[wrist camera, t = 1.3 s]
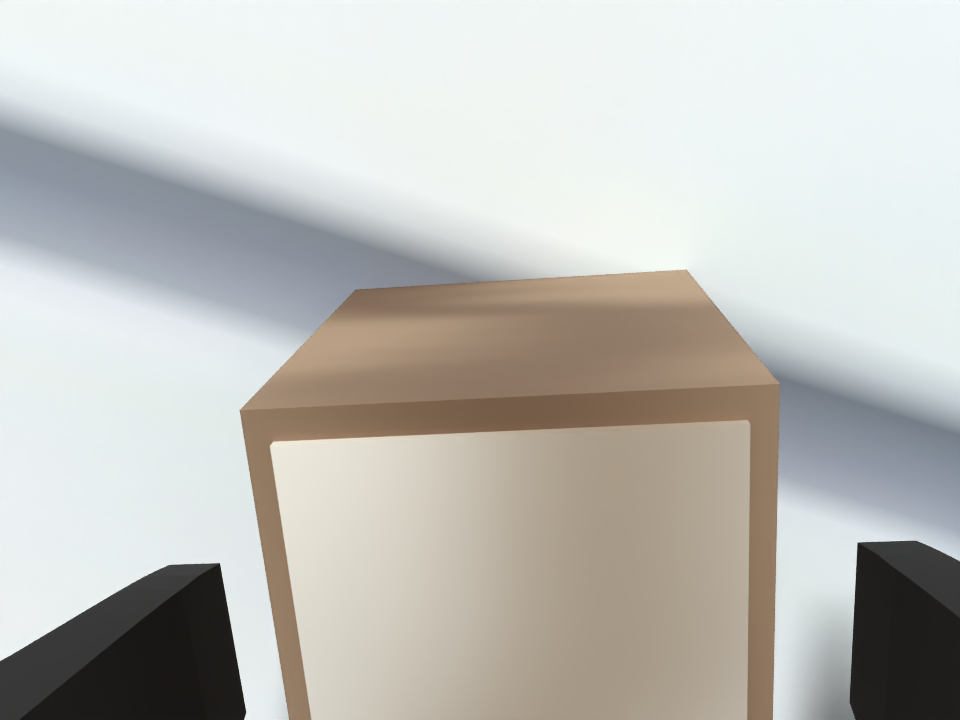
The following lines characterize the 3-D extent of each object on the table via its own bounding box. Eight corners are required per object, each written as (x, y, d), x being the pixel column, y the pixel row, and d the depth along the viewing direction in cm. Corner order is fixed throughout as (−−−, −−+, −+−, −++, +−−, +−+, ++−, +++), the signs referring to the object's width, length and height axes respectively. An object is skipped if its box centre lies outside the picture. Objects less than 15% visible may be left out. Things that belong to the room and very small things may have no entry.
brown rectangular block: (406, 713, 14) (336, 1032, 9) (357, 288, 12) (236, 414, 7) (689, 708, 14) (769, 1038, 9) (684, 268, 12) (782, 387, 7)
